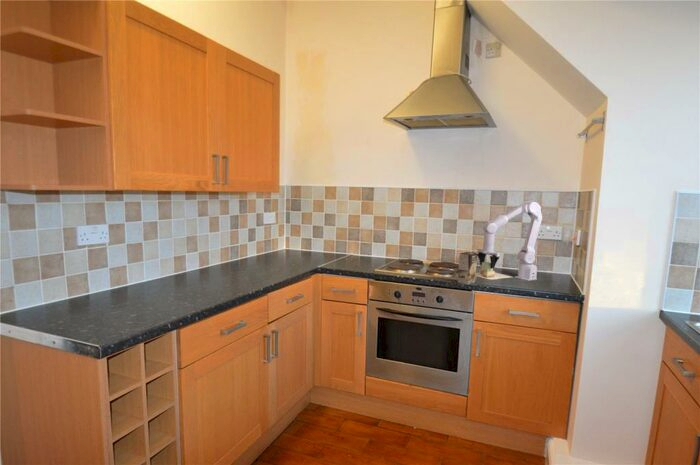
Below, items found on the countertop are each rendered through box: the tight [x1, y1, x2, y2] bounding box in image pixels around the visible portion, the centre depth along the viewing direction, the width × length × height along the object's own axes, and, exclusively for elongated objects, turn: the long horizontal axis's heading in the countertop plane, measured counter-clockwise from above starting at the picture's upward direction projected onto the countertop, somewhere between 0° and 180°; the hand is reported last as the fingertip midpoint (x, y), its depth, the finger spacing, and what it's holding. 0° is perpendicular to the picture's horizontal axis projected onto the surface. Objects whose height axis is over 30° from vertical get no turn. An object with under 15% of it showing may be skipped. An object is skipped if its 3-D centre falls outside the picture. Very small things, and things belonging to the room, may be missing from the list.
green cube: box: [480, 261, 494, 272], centre depth 233 cm, size 4×4×4 cm
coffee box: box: [457, 251, 478, 286], centre depth 218 cm, size 9×6×16 cm
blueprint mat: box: [476, 272, 512, 281], centre depth 237 cm, size 16×19×1 cm
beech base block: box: [478, 269, 496, 279], centre depth 234 cm, size 6×6×4 cm
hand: (487, 267), depth 233 cm, fingers open, 7 cm apart
